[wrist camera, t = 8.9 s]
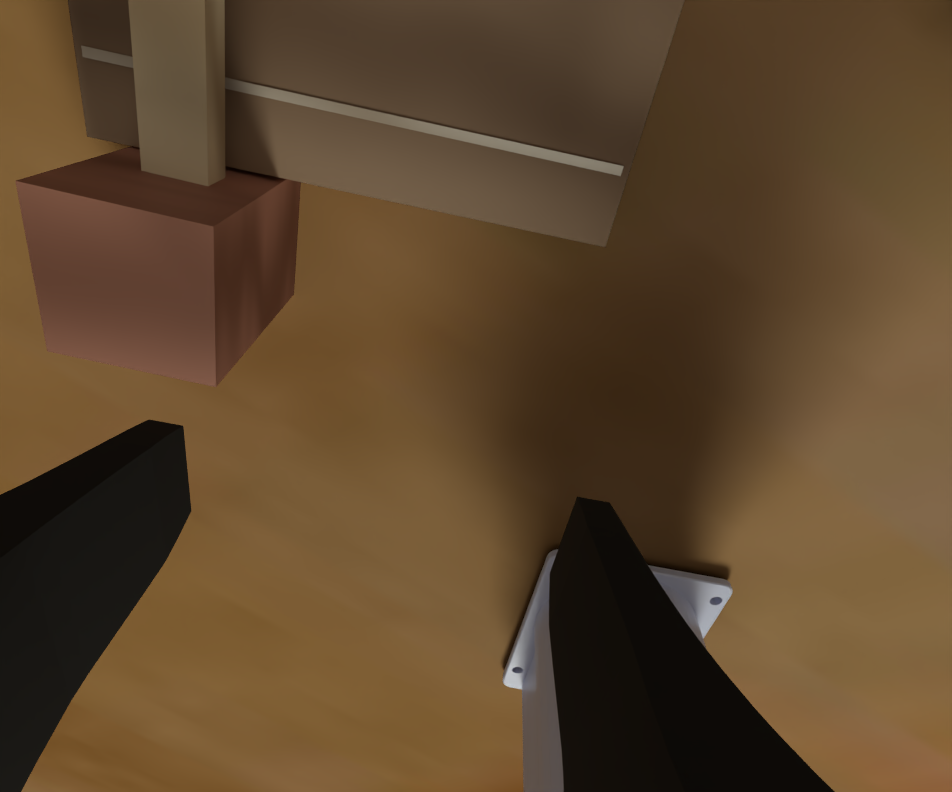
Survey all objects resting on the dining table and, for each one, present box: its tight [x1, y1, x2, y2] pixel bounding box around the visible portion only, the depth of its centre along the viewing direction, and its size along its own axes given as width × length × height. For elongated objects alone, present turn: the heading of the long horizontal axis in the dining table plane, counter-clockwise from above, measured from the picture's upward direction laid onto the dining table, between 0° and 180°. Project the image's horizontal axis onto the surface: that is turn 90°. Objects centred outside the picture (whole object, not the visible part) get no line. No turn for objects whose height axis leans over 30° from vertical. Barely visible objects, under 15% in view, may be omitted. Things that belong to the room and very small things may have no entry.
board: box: [68, 0, 685, 247], centre depth 15 cm, size 6×14×2 cm, turn 79°
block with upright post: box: [16, 0, 301, 387], centre depth 14 cm, size 10×4×6 cm, turn 168°
